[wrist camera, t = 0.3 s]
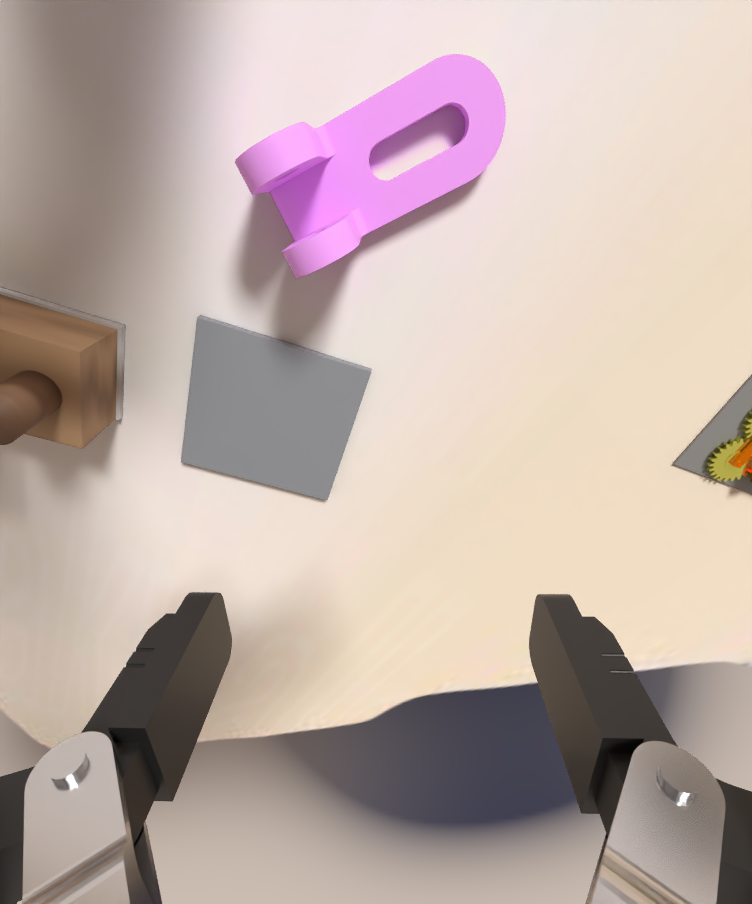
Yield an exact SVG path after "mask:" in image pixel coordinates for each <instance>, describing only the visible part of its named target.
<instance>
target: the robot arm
mask: <svg viewBox="0 0 752 904" xmlns="http://www.w3.org/2000/svg"><path fill="white" fill-rule="evenodd" d="M231 647H232V637H231V632H230V627H229V623H228V618H227V614H226V609H225V605H224V600H223V597H222V595H221V593H198V592H191V593H189V594H188V595H187V596H186V597H185V599H184V600H183V602H182V604H181V605H180V607H179V609H178V610H177V612H176V614H165V615H164V616H163V617H162V618H161V619H160V620H159V621H157V622H156V623H155V624H154V625H153V626H152V627H151V628H149V629H148V631H147V632H146V634H145V635H144V637H143V638H142V640H141V641H140V643H139V645H138V646H137V648H136V652H133V654H132V655H131V657H130V659H129V660H128V662H127V663H126V667H125V668H123V669H122V671H121V673H120V674H119V676H118V677H117V679H116V680H115V682H114V683H113V685H112V687H111V688H110V690H109V691H108V693H107V694H106V696H105V697H104V699H103V701H102V702H101V704H100V705H99V707H98V708H97V710H96V711H95V713H94V714H93V716H92V718H91V719H90V721H89V722H88V724H87V725H86V727H85V728H84V730H83V731H82V732H81V733H80V734H77V735H74V736H72V737H69V738H67V739H66V740H64V741H62V742H60V743H59V744H57V745H56V746H55V747H53V748H52V749H51V750H50V751H49V752H47V753H46V754H45V755H44V756H43V757H42V758H41V760H40V761H39V762H38V763H37V764H36V766H34V767H31V768H29V769H25V770H22V771H18V772H15V773H12V774H8V775H5V776H2V777H0V904H17V902H18V901H21V900H22V904H162V900H161V895H160V890H159V885H158V879H157V874H156V870H155V865H154V859H153V854H152V850H151V845H150V840H149V835H148V829H147V825H146V822H145V820H146V818H147V815H148V813H149V811H150V808H151V806H152V804H153V802H154V801H173V799H174V797H175V794H176V792H177V789H178V787H179V784H180V781H181V779H182V777H183V774H184V772H185V769H186V766H187V764H188V762H189V759H190V757H191V754H192V752H193V749H194V746H195V744H196V742H197V739H198V737H199V734H200V732H201V729H202V727H203V724H204V722H205V719H206V717H207V714H208V712H209V709H210V707H211V704H212V702H213V699H214V697H215V694H216V692H217V689H218V687H219V684H220V682H221V679H222V677H223V674H224V672H225V669H226V667H227V664H228V661H229V658H230V654H231ZM529 650H530V658H531V662H532V666H533V669H534V672H535V675H536V678H537V681H538V684H539V687H540V690H541V693H542V696H543V699H544V702H545V705H546V708H547V711H548V714H549V717H550V720H551V723H552V726H553V729H554V733H555V735H556V738H557V742H558V744H559V747H560V751H561V753H562V756H563V760H564V763H565V766H566V769H567V772H568V775H569V778H570V780H571V784H572V787H573V790H574V793H575V796H576V798H577V802H578V804H579V808H580V811H581V813H587V814H600V816H601V819H602V822H603V825H604V828H605V830H606V836H605V839H604V842H603V845H602V849H601V853H600V856H599V859H598V863H597V866H596V869H595V873H594V876H593V880H592V883H591V886H590V890H589V894H588V897H587V900H586V903H585V904H752V792H751V791H748V790H744V789H742V788H739V787H736V786H733V785H730V784H727V783H725V782H722V781H720V780H718V779H716V778H715V777H714V776H713V775H712V773H711V772H710V771H709V770H708V769H707V768H706V767H705V766H704V764H702V763H701V762H700V761H699V760H698V759H697V758H695V757H694V756H693V755H691V754H690V753H688V752H687V751H685V750H683V749H682V748H679V747H678V746H677V745H676V743H675V741H674V740H673V738H672V737H671V735H670V733H669V731H668V730H667V728H666V727H665V724H664V723H663V721H662V719H661V718H660V716H659V714H658V712H657V710H656V709H655V707H654V705H653V703H652V701H651V700H650V698H649V696H648V694H647V693H646V691H645V689H644V687H643V686H642V684H641V682H640V680H639V679H638V677H637V675H636V674H634V670H633V668H632V666H631V665H630V663H629V661H628V659H627V658H626V657H625V656H624V652H623V650H622V649H621V647H620V645H619V643H618V642H617V640H616V638H615V636H614V635H613V633H612V632H611V631H609V630H608V629H607V628H606V627H605V626H604V625H603V624H602V623H601V622H600V621H599V620H598V619H596V618H595V617H582V616H581V614H580V612H579V610H578V608H577V606H576V604H575V602H574V600H573V598H572V597H571V596H570V595H568V594H539V595H537V597H536V600H535V606H534V612H533V619H532V625H531V631H530V638H529Z"/></svg>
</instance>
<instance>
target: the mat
mask: <svg viewBox="0 0 752 904" xmlns="http://www.w3.org/2000/svg"><path fill="white" fill-rule="evenodd" d="M370 374H371V369H370V368H367V367H363V366H360V365H357V364H354V363H351V362H348V361H344V360H341V359H338V358H335V357H332V356H329V355H325V354H322V353H319V352H316V351H313V350H310V349H306V348H303V347H300V346H297V345H294V344H291V343H287V342H284V341H281V340H278V339H275V338H272V337H268V336H265V335H262V334H259V333H256V332H252V331H249V330H246V329H243V328H240V327H237V326H233V325H230V324H227V323H224V322H221V321H218V320H214V319H211V318H208V317H205V316H202V315H200V316H199V317H197V325H196V334H195V343H194V352H193V360H192V369H191V378H190V387H189V396H188V404H187V413H186V422H185V431H184V440H183V449H182V457H181V462H182V463H186V464H190V465H194V466H198V467H201V468H205V469H209V470H213V471H217V472H220V473H224V474H228V475H232V476H236V477H240V478H243V479H247V480H251V481H255V482H259V483H262V484H266V485H270V486H274V487H278V488H281V489H285V490H289V491H293V492H297V493H300V494H304V495H308V496H312V497H316V498H319V499H323V500H327V499H328V497H329V494H330V491H331V488H332V485H333V482H334V479H335V476H336V473H337V470H338V467H339V465H340V462H341V459H342V456H343V453H344V450H345V447H346V444H347V441H348V438H349V435H350V433H351V430H352V427H353V424H354V421H355V418H356V415H357V412H358V409H359V406H360V403H361V400H362V398H363V395H364V392H365V389H366V386H367V383H368V380H369V377H370Z"/></svg>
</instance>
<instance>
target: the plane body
mask: <svg viewBox="0 0 752 904" xmlns="http://www.w3.org/2000/svg"><path fill="white" fill-rule="evenodd" d="M124 347H125V325H123V324H120V323H117V322H113V321H110V320H107V319H103V318H100V317H97V316H94V315H90V314H87V313H84V312H80V311H77V310H74V309H71V308H67V307H64V306H61V305H57V304H54V303H51V302H48V301H44V300H41V299H38V298H34V297H31V296H28V295H25V294H21V293H18V292H15V291H11V290H8V289H5V288H1V287H0V445H6V444H9V443H12V442H13V441H14V440H16V439H17V438H19V437H20V436H21V435H23V434H27V435H31V436H35V437H39V438H43V439H47V440H51V441H54V442H58V443H62V444H66V445H70V446H74V447H78V448H84V447H85V446H86V445H87V444H88V443H89V442H90V441H91V440H92V439H93V438H94V437H96V436H97V435H98V434H99V433H100V432H101V431H102V430H103V429H104V428H105V427H106V426H107V425H109V424H110V423H111V422H112V421H113V420H118V421H119V420H120V419H121V418H122V417H123V383H124Z"/></svg>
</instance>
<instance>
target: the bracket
mask: <svg viewBox="0 0 752 904" xmlns="http://www.w3.org/2000/svg"><path fill="white" fill-rule="evenodd" d="M445 106H455V107H457V108H458V109H459V110H460V111H461V112H462V113H463V115H464V118H465V132H464V135H463V137H462V139H461V140H460V141H459V142H458V143H457V144H456V145H455V146H453V147H451V148H449V149H447V150H445V151H443V152H442V153H440V154H438V155H436V156H434V157H432V158H430V159H428V160H427V161H425V162H423V163H421V164H419V165H417V166H415V167H413V168H412V169H410V170H408V171H406V172H404V173H402V174H400V175H399V176H397V177H395V178H393V179H391V180H381V179H379V178H377V177H376V176H375V175H374V174H373V172H372V171H371V168H370V163H369V159H370V154H371V151H372V149H373V148H374V147H375V146H376V145H377V144H378V143H380V142H382V141H383V140H385V139H387V138H389V137H391V136H392V135H394V134H396V133H398V132H400V131H401V130H403V129H405V128H407V127H408V126H410V125H412V124H414V123H416V122H417V121H419V120H421V119H423V118H425V117H426V116H428V115H430V114H432V113H434V112H435V111H437V110H439V109H441V108H442V107H445ZM505 115H506V113H505V102H504V97H503V93H502V90H501V87H500V85H499V83H498V81H497V79H496V78H495V76H494V74H493V73H492V72H491V71H490V69H489V68H488V67H487V66H486V65H484V64H483V63H482V62H480V61H479V60H477V59H475V58H473V57H470V56H466V55H460V54H452V55H446V56H443V57H440V58H437V59H435V60H433V61H431V62H430V63H428V64H426V65H425V66H423V67H421V68H420V69H418V70H416V71H414V72H413V73H411V74H409V75H408V76H406V77H404V78H403V79H401V80H399V81H397V82H396V83H394V84H392V85H391V86H389V87H387V88H386V89H384V90H382V91H380V92H379V93H377V94H375V95H374V96H372V97H370V98H369V99H367V100H365V101H363V102H362V103H360V104H358V105H357V106H355V107H353V108H352V109H350V110H348V111H346V112H345V113H343V114H341V115H340V116H338V117H336V118H334V119H333V120H331V121H329V122H328V123H326V124H324V125H322V126H321V127H318V128H316V129H314V128H313V127H311V126H310V125H308V124H307V123H305V122H301V123H297V124H294V125H292V126H289V127H287V128H285V129H282V130H280V131H278V132H276V133H274V134H272V135H271V136H269V137H267V138H265V139H264V140H262V141H260V142H259V143H257V144H255V145H254V146H252V147H251V148H249V149H248V150H247V151H245V152H244V153H243V154H241V155H240V156H239V157H238V158H237V159H236V161H235V163H236V165H237V167H238V169H239V171H240V173H241V175H242V177H243V179H244V180H245V182H246V184H247V186H248V188H249V190H250V192H251V194H258V193H264V192H270V194H271V196H272V198H273V200H274V202H275V204H276V206H277V208H278V210H279V212H280V213H281V215H282V217H283V219H284V221H285V223H286V225H287V227H288V229H289V231H290V233H291V235H292V237H293V239H294V241H295V242H293V243H292V244H291V245H289V246H288V247H287V248H286V249H284V250H283V251H282V253H283V255H284V257H285V259H286V260H287V262H288V264H289V266H290V268H291V270H292V272H293V274H294V276H295V278H300V277H303V276H305V275H308V274H310V273H312V272H314V271H317V270H319V269H321V268H323V267H325V266H327V265H328V264H330V263H332V262H334V261H336V260H338V259H339V258H341V257H343V256H344V255H346V254H348V253H349V252H351V251H352V250H354V249H355V248H356V247H358V245H359V243H360V240H361V237H362V236H364V235H366V234H367V233H369V232H371V231H373V230H375V229H377V228H379V227H381V226H383V225H385V224H387V223H389V222H391V221H393V220H395V219H397V218H398V217H400V216H402V215H404V214H406V213H408V212H410V211H412V210H414V209H416V208H418V207H420V206H422V205H424V204H426V203H428V202H430V201H432V200H434V199H436V198H438V197H440V196H442V195H444V194H445V193H447V192H449V191H451V190H453V189H455V188H457V187H459V186H461V185H463V184H465V183H467V182H469V181H471V180H472V179H474V178H475V177H477V176H478V175H479V174H480V173H481V172H483V171H484V169H485V168H486V167H487V166H488V165H489V164H490V162H491V161H492V159H493V158H494V156H495V154H496V152H497V150H498V148H499V146H500V143H501V140H502V137H503V133H504V128H505Z"/></svg>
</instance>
